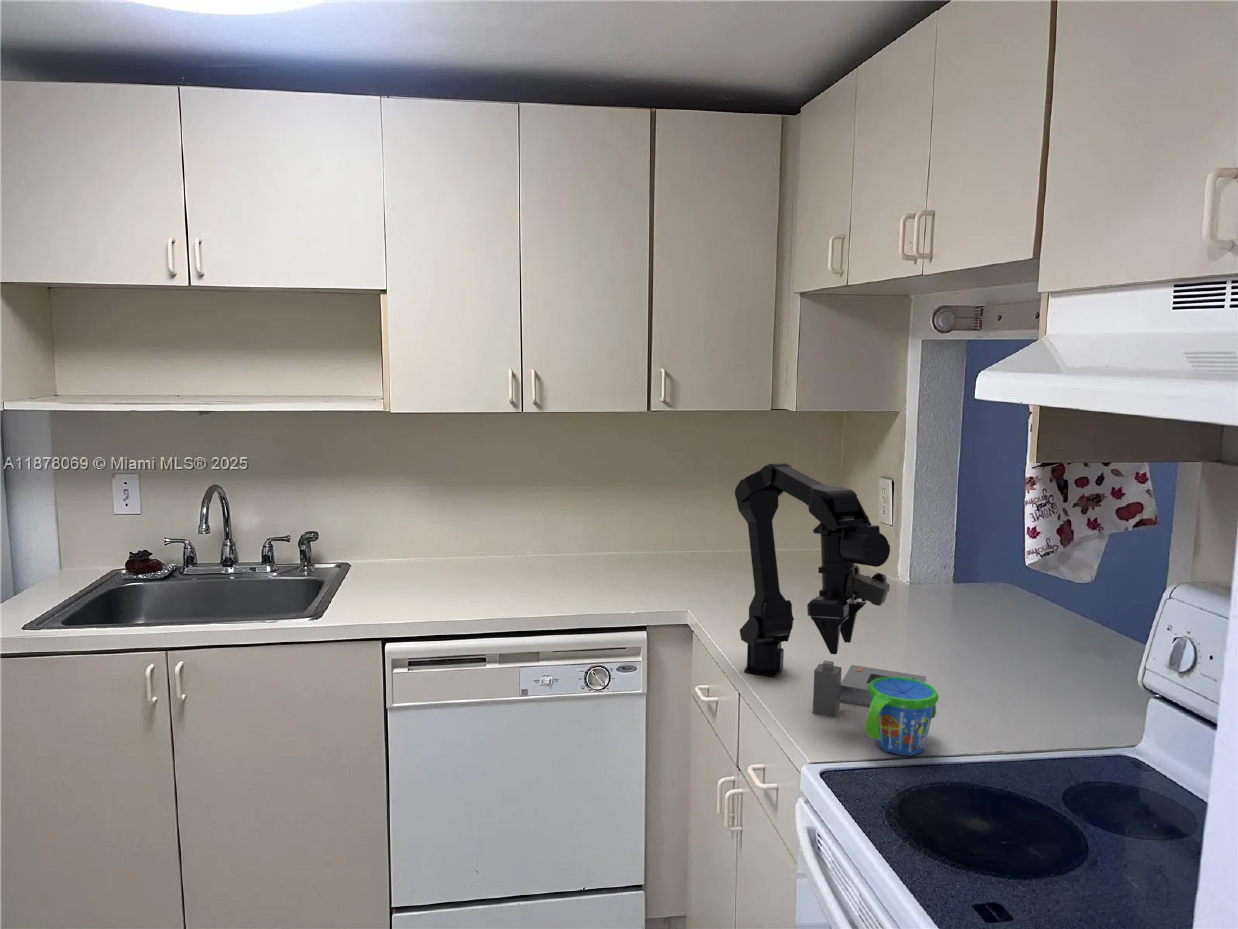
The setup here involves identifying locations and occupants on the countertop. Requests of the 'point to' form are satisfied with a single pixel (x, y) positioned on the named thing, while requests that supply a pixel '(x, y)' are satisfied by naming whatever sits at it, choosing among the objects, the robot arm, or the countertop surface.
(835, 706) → the plug
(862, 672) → the socket plate
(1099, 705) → the countertop surface
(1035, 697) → the countertop surface
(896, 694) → the snack cup
